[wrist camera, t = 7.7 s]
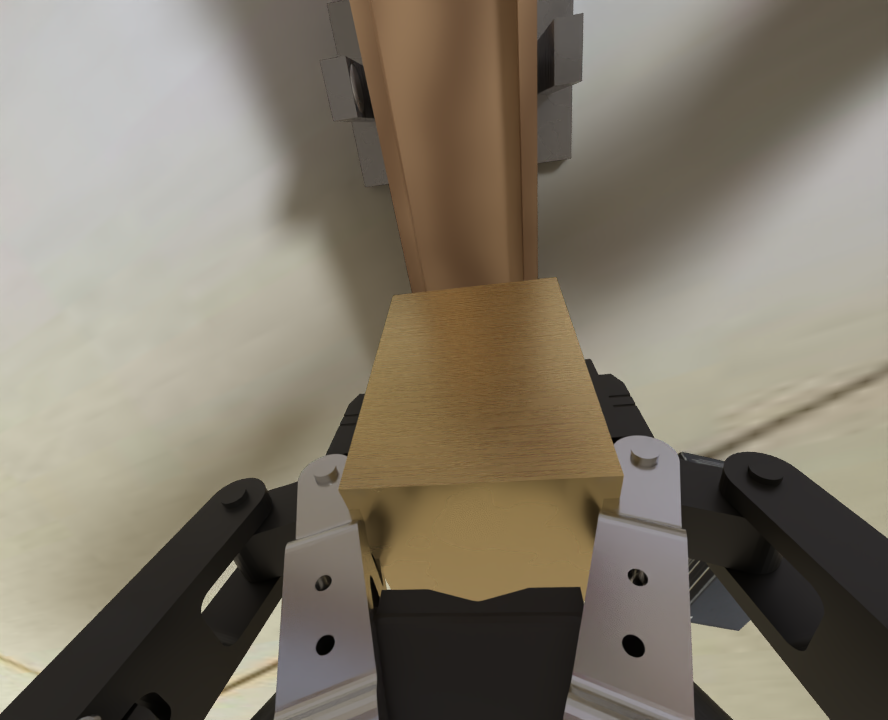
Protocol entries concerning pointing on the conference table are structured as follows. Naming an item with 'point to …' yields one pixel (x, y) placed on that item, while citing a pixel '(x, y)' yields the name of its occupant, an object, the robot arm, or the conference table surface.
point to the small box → (711, 584)
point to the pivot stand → (554, 84)
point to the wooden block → (481, 444)
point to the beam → (457, 133)
